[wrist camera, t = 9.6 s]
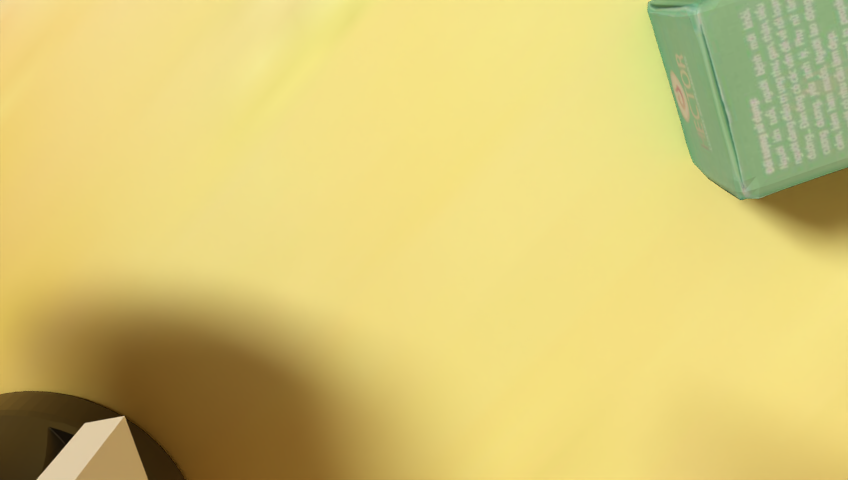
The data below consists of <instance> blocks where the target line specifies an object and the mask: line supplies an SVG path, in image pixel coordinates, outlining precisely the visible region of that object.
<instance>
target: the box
mask: <svg viewBox="0 0 848 480" xmlns="http://www.w3.org/2000/svg"><path fill="white" fill-rule="evenodd" d="M648 14H649V17H650V20H651V23H652V26H653V30H654V33H655V37H656V40H657V44H658V47H659V50H660V54H661V57H662V60H663V63H664V67H665V70H666V73H667V77H668V80H669V83H670V87H671V90H672V93H673V97H674V100H675V104H676V107H677V110H678V114H679V117H680V121H681V124H682V128H683V132H684V136H685V140H686V144H687V147H688V149H689V152H690V155H691V158H692V161H693V163H694V164H695V165H696V166H697V167H698V168H699V169H700V170H701V171H702V172H703V174H704V175H705V176H706V177H707V178H708V179H710V180H711V181H712V182H714V183H715V184H717V185H718V186H720V187H721V188H722V189H724V190H725V191H727V192H729V193H730V194H732V195H733V196H735V197H736V198H738V199H740V200H743V199H747V198H753V199H759V198H762V197H764V196H767V195H770V194H772V193H775V192H778V191H780V190H783V189H786V188H789V187H792V186H795V185H798V184H801V183H803V182H806V181H809V180H812V179H815V178H818V177H821V176H824V175H827V174H829V173H832V172H835V171H838V170H841V169H844V168H847V167H848V0H652V1H650V2H648Z"/></svg>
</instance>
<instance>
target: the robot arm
mask: <svg viewBox="0 0 848 480" xmlns="http://www.w3.org/2000/svg"><path fill="white" fill-rule="evenodd" d="M0 480H185V479H184V478H183V476H182V474H181V472H180V471H179V469H178V468H177V466H176V465H175V463H174V462H173V461H172V459H171V458H170V457H169V456H168V454H167V453H166V452H165V451H164V450H163V449H162V448H161V447H160V446H159V445H158V444H157V443H156V442H155V441H154V440H153V439H152V438H151V437H150V436H149V435H147V434H146V433H145V432H144V431H143V430H141V429H140V428H139V427H137V426H136V425H135V424H133V423H132V422H130V421H129V420H127V419H126V418H125V416H120V415H119V414H117V413H115V412H113V411H111V410H109V409H107V408H105V407H102V406H100V405H98V404H95V403H92V402H90V401H87V400H84V399H80V398H77V397H73V396H69V395H64V394H58V393H51V392H39V391H24V392H12V393H5V394H0Z"/></svg>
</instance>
